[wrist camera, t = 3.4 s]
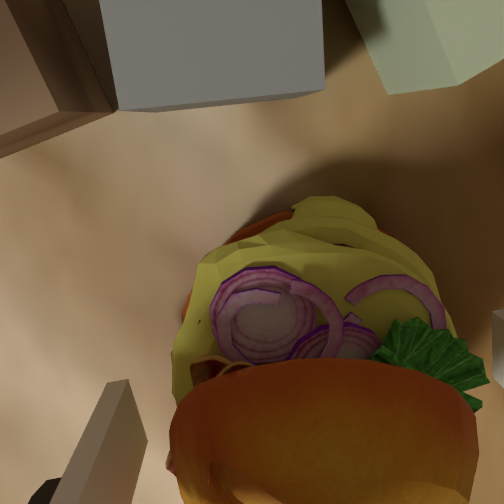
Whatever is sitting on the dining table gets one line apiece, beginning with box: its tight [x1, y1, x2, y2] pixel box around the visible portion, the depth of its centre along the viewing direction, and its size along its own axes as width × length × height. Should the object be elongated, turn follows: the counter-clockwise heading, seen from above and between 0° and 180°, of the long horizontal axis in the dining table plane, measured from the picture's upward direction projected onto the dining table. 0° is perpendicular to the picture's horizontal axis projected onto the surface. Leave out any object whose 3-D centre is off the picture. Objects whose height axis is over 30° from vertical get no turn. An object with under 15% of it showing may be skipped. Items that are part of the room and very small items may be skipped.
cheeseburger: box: [166, 196, 490, 504], centre depth 14 cm, size 10×11×10 cm
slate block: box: [99, 0, 325, 113], centre depth 12 cm, size 5×5×5 cm
